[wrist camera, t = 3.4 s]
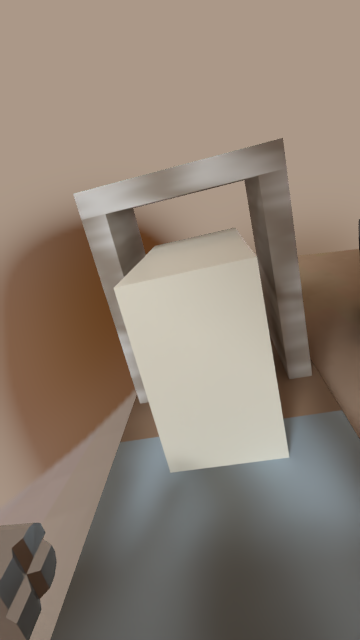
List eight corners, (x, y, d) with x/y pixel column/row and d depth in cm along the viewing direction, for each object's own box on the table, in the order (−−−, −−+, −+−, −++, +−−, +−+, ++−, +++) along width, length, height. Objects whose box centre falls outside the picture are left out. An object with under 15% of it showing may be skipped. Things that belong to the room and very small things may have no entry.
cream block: (257, 351, 28) (234, 227, 25) (289, 457, 17) (256, 257, 14) (185, 363, 29) (154, 246, 26) (170, 472, 18) (113, 288, 14)
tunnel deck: (281, 336, 39) (255, 160, 33) (534, 836, 9) (772, -189, 3) (169, 357, 41) (125, 194, 35) (60, 822, 11) (-407, 208, 5)
